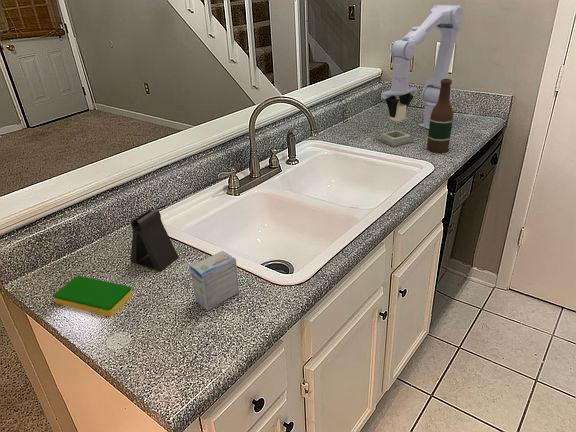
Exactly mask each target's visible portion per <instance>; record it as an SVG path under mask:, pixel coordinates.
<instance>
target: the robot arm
mask: <svg viewBox="0 0 576 432" xmlns="http://www.w3.org/2000/svg"><path fill="white" fill-rule="evenodd" d="M463 19H464V10H463V7H462V6H461V5H459V4H458V5H448V4H444V5H442V4H435V5H434V6H433V7H432V8H431V9H430V10H429V15H428V16H427V17H426V18H425V20H424V21H423V22H422V23H421V24H420V25H419V26H413V27H412V28H411V30H409V31H408V33H407V34H406V35H404V36H403V37H402V38H401V39H398V40H395V41H394V42H393V43H392V45H391V47H390V48H391V49H390V51H389V53H390V56H391V62H392V74H391V75H392V76H391V77H392V78H391V87H390V89H389V90H386V91H383V92H381V93H380V98H381V99H383V100H384V101H385V103H386V105H387V107H388V114H389V117H393V118H394V117H395V115H396V108H397V104H398V103H401V104H404V105H407V107H406V111H407V110H408V107H409V105H410V104H411V102H412V100H413V99H414V95H413V94H417V93H418V87H416V86H409V82H410V73H411V71H410V70H411V60H412V59H413V57H414V56H415V54H416V52H417V51H418V48H419V47H420V45H422V43H424V41H426V39H427V34H429V33H430V32H431V31H433V30H434V29H435V28H436V29H437V30H439V31H440V33H441V38H440V42H439V46H438V51H437V56H436V60H435V65H434V69H433V73H432V74H433V75H432V77H431V78H430V79H428V80H427V81H426V82H425V85H424V87H423V90H422V91H421V99H422V101H423V104H425V106H424V107H425V108H424V115H423V122H422V123H418V126H420V127H422V128H424V129H428V130H429V124H430V117H431V113H432V110H433V108H434V107H435V105H436V104H437V103H438V99H439V93H440V88H441V80H442V79H448V74H449V72H450V71H449V70H450V67H451V65H450V64H451V61H452V57H453V53H454V48H455V43H456V39H457V35H458V32H460V31H461V27H462V23H463ZM452 88H453V85H452V84H451V88H450V100H451V98H452ZM397 97H399V99H398V98H397Z"/></svg>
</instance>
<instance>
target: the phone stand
mask: <svg viewBox="0 0 576 432" xmlns="http://www.w3.org/2000/svg"><path fill="white" fill-rule="evenodd" d="M161 215H162V214H161V213H160V211H159V209H157V208H155V209H154V208H153V207H152V208H150V209H148V210H147V211H145V212H143V213H142V214H141V215H139V216H137V217H136V218H134V219H133V220H131V222H130V226H131V229H132V238H131V249H130V250H131V252H130V263H131V264H134V265H138V266H141V267H144V268H145V267H146V268H147V269H150V270H154V271H157V272H160V273H161V272H162V271H163V270H164V269H166V268H167V267H169V266H170V265H171V264H172V263H174V262H175V261H176V260H177V259H179V255H178V253H177V251H176V248H175V246H174V245H173V242H172V240H171V238H170V237H169V234H168V232H167V230H166V228H165V225H164V223H163V221H162V217H161Z"/></svg>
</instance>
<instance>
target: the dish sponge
mask: <svg viewBox="0 0 576 432" xmlns="http://www.w3.org/2000/svg"><path fill="white" fill-rule="evenodd" d="M132 296H133V291H132V287H131V286H130V285H124V284H120V283H116V282H110V281H105V280H101V279H96V278H92V277H87V276H82V275H77V276H75V277H74V278H72V279H71V280H70V281H69V282H67V283H65V284H64V285H63V286H62V287H61V288H60V289H58V291H56V292H55V293H54V294H53V299H54V302H55V304H57V305H60V306H64V307H65V306H66V307H69V308H73V309H77V310H81V311H86V312H89V313H94V314H98V315H102V316H107V317H112V316H113V315H115V313H117V312H118V310H120V309H121V308H122V307H123V305H125V304H126V303H127V302H128V301H129V300H130V299H131V298H132Z"/></svg>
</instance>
